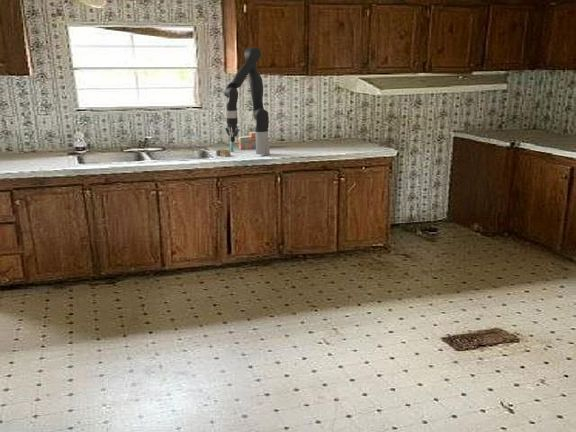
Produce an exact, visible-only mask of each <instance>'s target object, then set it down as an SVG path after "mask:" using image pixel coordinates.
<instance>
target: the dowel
mask: <svg viewBox="0 0 576 432" xmlns="http://www.w3.org/2000/svg"><path fill="white" fill-rule="evenodd" d="M229 147H230V149H229V150H230V153H234V152H235V151H234V142H231V140H230V141H229Z"/></svg>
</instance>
